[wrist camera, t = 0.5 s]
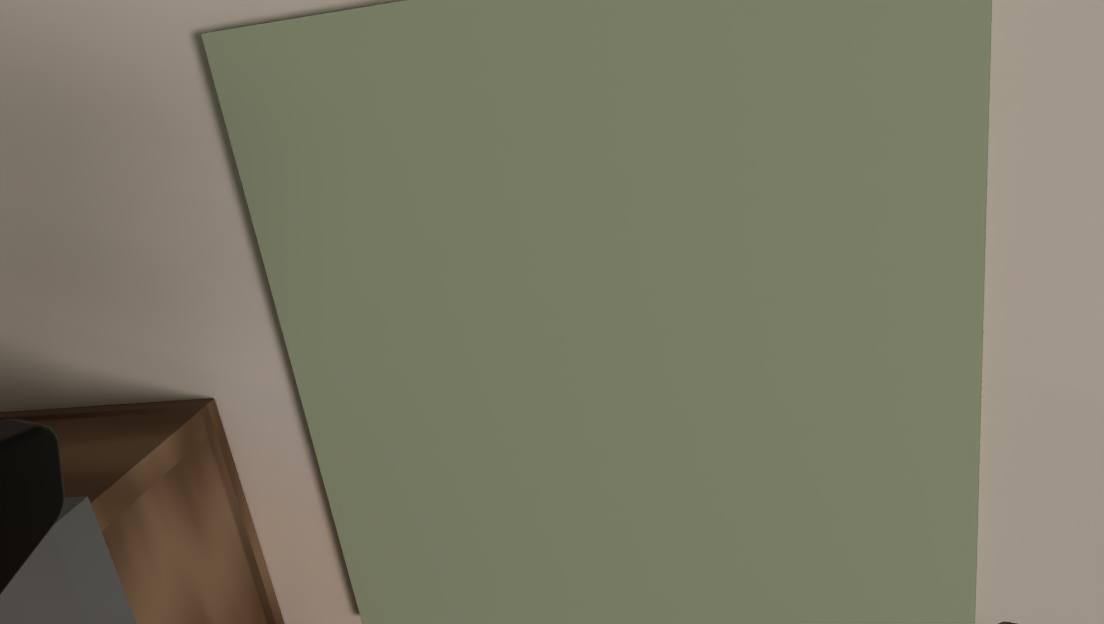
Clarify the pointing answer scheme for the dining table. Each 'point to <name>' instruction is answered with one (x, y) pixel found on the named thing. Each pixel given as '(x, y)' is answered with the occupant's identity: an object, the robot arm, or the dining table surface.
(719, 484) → the mat
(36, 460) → the robot arm
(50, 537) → the lid
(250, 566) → the storage box
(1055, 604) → the dining table surface
